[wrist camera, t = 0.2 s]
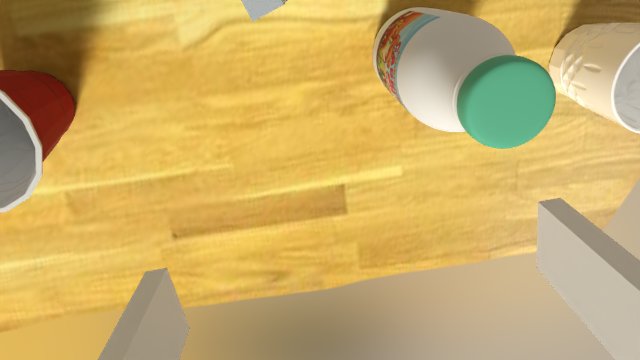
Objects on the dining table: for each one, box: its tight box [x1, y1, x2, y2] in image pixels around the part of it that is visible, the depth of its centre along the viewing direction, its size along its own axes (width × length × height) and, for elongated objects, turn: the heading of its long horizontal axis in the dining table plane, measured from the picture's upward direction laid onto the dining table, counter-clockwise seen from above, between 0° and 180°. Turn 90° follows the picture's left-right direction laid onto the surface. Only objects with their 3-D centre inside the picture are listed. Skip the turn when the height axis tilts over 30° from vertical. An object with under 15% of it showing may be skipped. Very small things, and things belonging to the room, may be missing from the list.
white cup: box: [549, 23, 640, 133], centre depth 36 cm, size 8×8×10 cm
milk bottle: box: [372, 7, 556, 149], centre depth 31 cm, size 8×8×20 cm
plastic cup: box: [0, 70, 75, 212], centre depth 35 cm, size 11×11×12 cm
